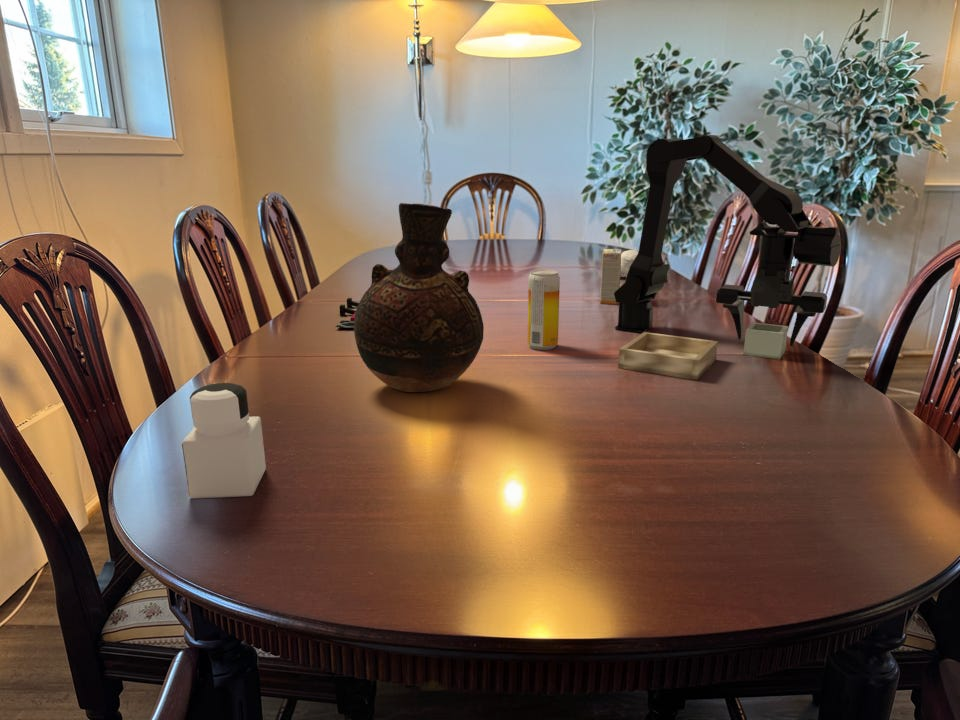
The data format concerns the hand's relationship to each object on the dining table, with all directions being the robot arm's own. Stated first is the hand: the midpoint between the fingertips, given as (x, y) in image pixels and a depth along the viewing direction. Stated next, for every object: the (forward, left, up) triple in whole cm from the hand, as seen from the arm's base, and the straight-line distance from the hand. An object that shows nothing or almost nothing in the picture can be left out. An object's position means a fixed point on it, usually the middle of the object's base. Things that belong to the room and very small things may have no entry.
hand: (765, 342), depth 131 cm
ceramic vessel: (-46, -49, -2) cm, 67 cm away
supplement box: (-43, +31, -2) cm, 53 cm away
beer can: (-39, -17, -2) cm, 43 cm away
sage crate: (0, 0, -2) cm, 2 cm away
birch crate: (-14, -16, -2) cm, 21 cm away
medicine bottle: (-45, -89, -2) cm, 100 cm away
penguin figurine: (-52, +64, -2) cm, 82 cm away
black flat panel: (-87, -12, -3) cm, 88 cm away
